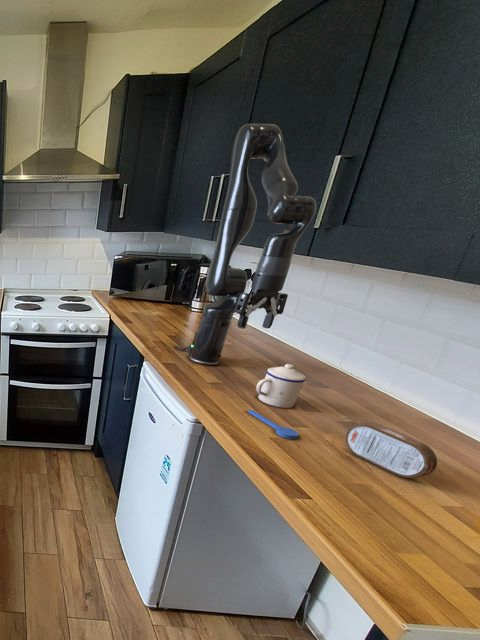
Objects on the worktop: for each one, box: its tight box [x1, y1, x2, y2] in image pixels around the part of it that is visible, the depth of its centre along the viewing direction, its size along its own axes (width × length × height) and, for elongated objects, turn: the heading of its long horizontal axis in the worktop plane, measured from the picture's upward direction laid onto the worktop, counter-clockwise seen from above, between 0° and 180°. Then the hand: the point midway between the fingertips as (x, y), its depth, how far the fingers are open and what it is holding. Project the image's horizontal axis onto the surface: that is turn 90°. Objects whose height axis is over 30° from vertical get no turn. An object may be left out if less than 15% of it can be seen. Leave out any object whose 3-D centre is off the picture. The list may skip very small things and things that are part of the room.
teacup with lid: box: [256, 363, 307, 409], centre depth 115 cm, size 12×9×12 cm
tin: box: [345, 421, 438, 479], centre depth 87 cm, size 15×3×8 cm, turn 17°
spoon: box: [247, 409, 299, 440], centre depth 104 cm, size 14×4×1 cm, turn 9°
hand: (253, 327), depth 120 cm, fingers open, 8 cm apart
